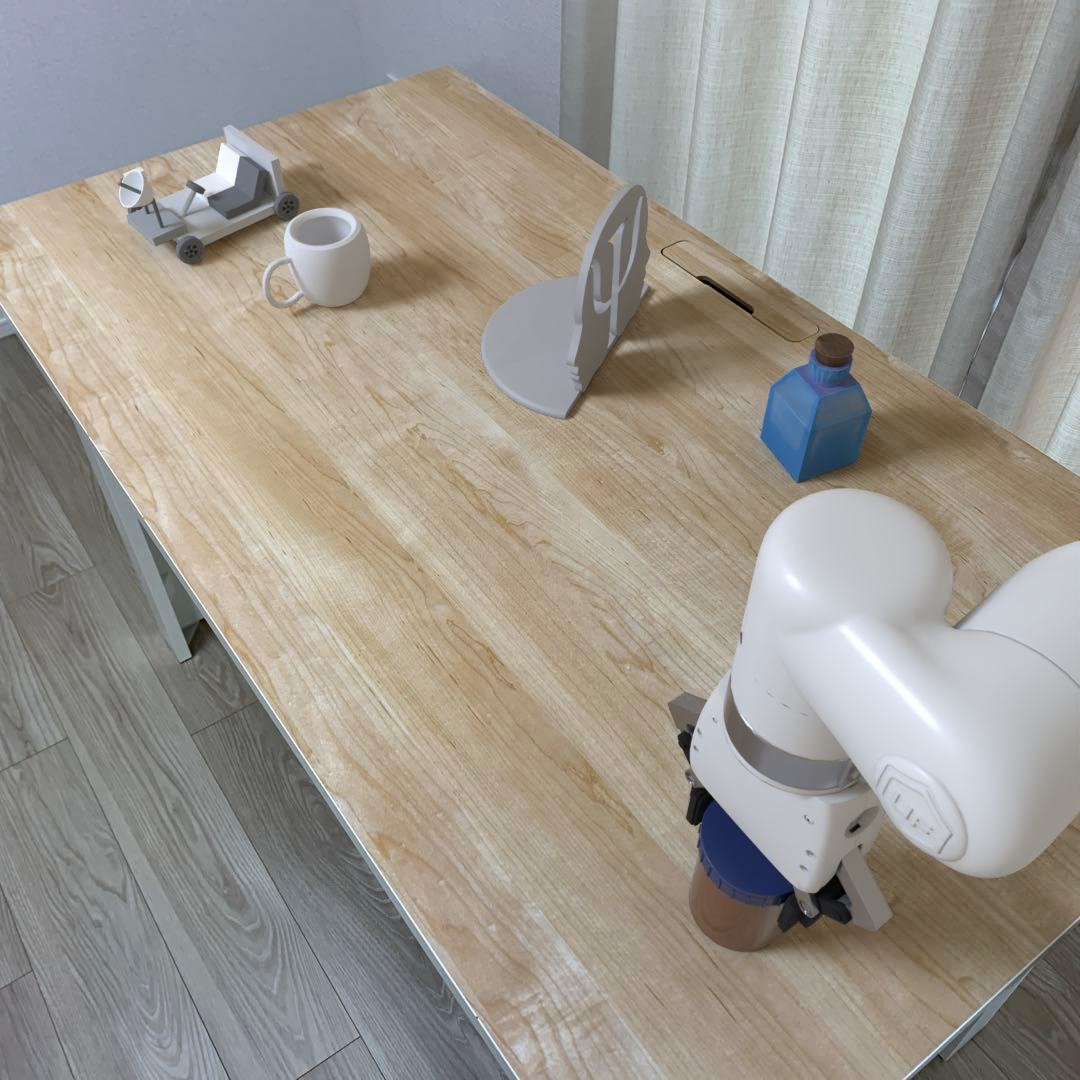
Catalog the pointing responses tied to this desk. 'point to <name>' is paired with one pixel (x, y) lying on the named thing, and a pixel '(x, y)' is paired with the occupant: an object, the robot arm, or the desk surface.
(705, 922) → the jar
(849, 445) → the perfume bottle
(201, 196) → the toy car
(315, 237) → the mug
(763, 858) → the lid
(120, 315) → the desk surface
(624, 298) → the ornament
